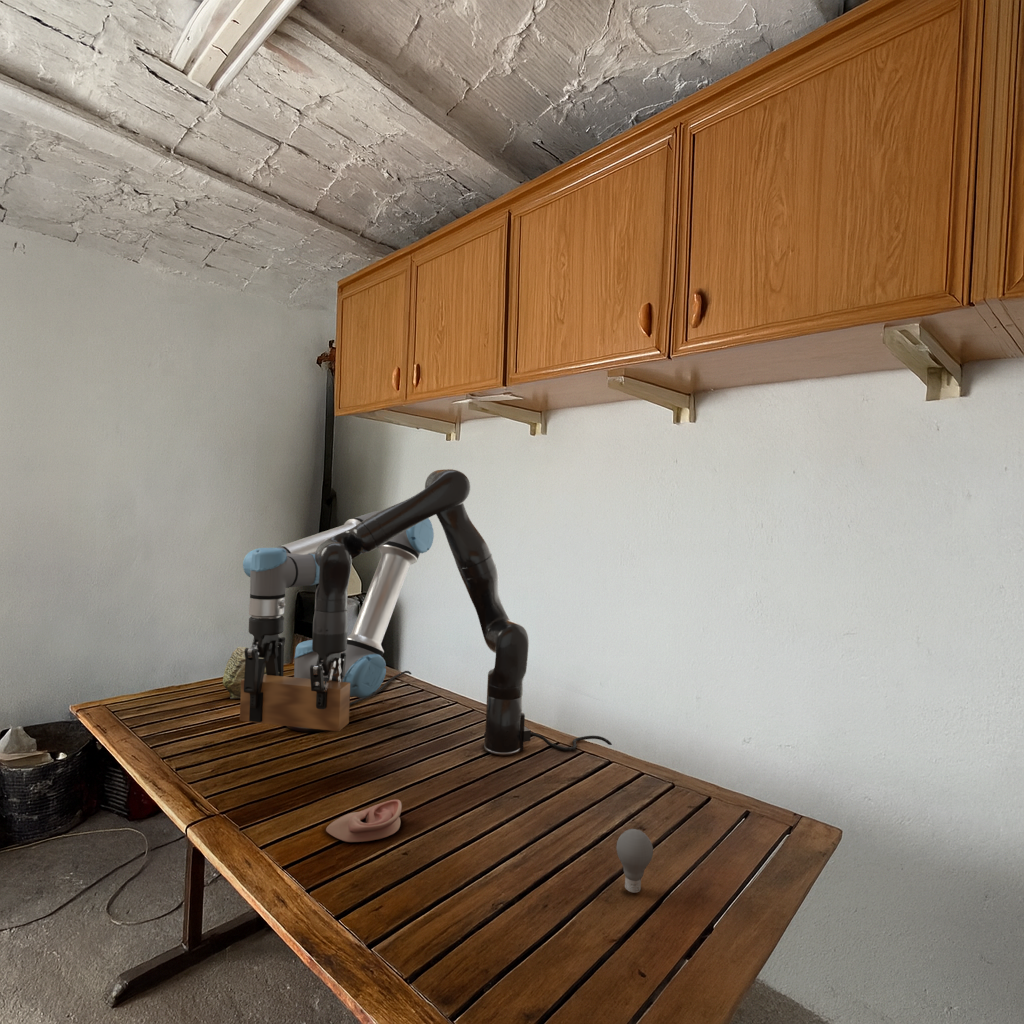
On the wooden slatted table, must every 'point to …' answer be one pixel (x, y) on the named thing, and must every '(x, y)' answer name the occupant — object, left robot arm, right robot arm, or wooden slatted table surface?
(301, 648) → the left robot arm
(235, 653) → the fossil
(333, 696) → the bar
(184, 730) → the wooden slatted table surface
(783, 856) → the wooden slatted table surface
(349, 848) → the wooden slatted table surface
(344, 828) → the anatomical model
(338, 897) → the wooden slatted table surface
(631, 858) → the light bulb
